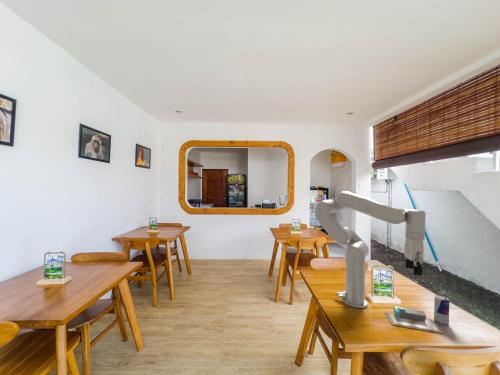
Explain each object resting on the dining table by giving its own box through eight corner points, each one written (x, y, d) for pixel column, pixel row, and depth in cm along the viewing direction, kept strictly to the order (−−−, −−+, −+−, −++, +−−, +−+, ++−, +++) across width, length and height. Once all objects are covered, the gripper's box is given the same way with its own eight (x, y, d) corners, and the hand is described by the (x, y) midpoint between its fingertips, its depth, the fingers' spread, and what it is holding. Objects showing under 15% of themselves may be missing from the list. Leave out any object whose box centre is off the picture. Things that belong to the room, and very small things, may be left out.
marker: (425, 322, 107) (395, 316, 111) (422, 317, 111) (393, 311, 114) (426, 315, 107) (396, 309, 110) (423, 309, 110) (394, 304, 113)
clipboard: (391, 325, 105) (391, 322, 105) (384, 312, 116) (384, 310, 116) (444, 334, 100) (444, 331, 100) (431, 320, 110) (431, 317, 110)
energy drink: (448, 328, 104) (449, 301, 104) (433, 323, 108) (434, 297, 108) (448, 323, 108) (449, 297, 108) (434, 318, 112) (435, 293, 112)
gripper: (399, 231, 120) (398, 264, 120) (413, 238, 103) (411, 276, 103) (416, 233, 118) (415, 266, 118) (432, 240, 101) (431, 279, 101)
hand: (413, 271), depth 110 cm, fingers open, 9 cm apart
